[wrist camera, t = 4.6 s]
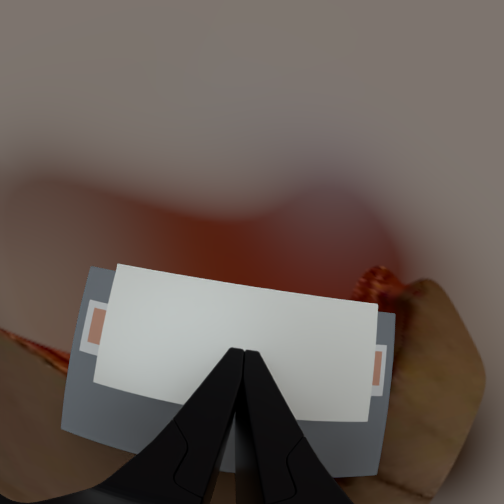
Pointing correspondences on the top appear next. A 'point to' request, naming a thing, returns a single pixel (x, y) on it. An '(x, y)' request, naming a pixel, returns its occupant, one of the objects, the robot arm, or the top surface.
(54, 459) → the top surface
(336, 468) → the plate
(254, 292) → the block
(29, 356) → the top surface
